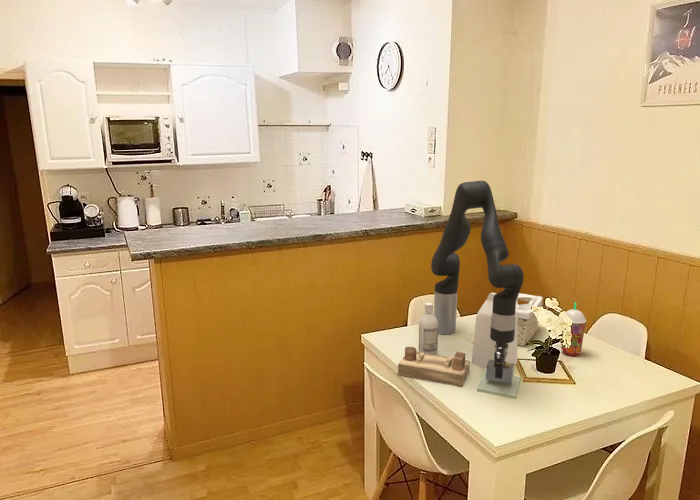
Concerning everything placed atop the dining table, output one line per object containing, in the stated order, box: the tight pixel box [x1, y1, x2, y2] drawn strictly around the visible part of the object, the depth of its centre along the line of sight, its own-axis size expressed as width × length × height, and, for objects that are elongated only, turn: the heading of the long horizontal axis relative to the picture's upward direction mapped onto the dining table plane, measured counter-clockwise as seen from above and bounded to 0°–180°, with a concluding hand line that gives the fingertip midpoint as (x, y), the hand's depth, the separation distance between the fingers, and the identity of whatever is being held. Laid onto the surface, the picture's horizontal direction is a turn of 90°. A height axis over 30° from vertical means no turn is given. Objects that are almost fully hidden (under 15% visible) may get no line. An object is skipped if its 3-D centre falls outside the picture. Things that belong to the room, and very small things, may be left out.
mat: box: [476, 370, 522, 399], centre depth 171 cm, size 14×12×1 cm
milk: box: [470, 292, 518, 369], centre depth 184 cm, size 12×12×26 cm
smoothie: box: [561, 301, 587, 357], centre depth 192 cm, size 8×8×20 cm
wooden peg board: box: [397, 346, 471, 387], centre depth 178 cm, size 12×22×8 cm, turn 66°
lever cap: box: [485, 359, 515, 384], centre depth 170 cm, size 5×8×6 cm, turn 66°
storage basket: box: [515, 292, 544, 346], centre depth 211 cm, size 24×16×15 cm
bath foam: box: [418, 302, 439, 355], centre depth 192 cm, size 7×7×20 cm
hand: (499, 374), depth 170 cm, fingers closed on lever cap, 5 cm apart
